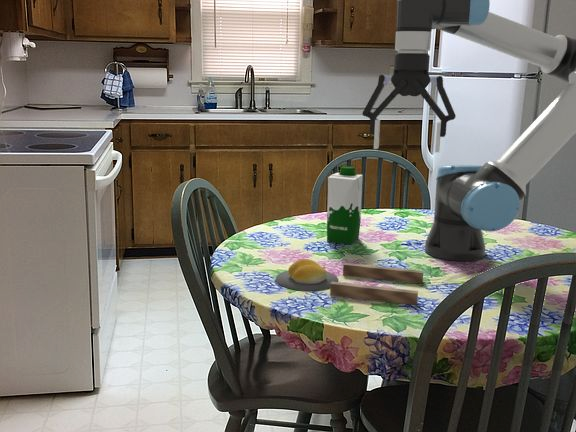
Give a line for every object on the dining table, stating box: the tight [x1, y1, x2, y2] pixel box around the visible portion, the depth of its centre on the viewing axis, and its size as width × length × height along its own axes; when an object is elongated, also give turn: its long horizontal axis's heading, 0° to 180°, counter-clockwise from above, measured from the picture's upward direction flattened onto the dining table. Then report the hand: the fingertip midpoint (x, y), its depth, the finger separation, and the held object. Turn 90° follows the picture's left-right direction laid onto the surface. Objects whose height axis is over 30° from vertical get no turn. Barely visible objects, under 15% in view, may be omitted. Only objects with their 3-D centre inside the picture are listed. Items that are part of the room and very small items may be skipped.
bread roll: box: [287, 258, 328, 284], centre depth 142 cm, size 8×9×4 cm
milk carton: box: [326, 165, 363, 245], centre depth 173 cm, size 9×9×20 cm
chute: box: [329, 262, 425, 306], centre depth 138 cm, size 18×15×2 cm
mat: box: [275, 270, 339, 292], centre depth 143 cm, size 14×14×1 cm
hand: (406, 150), depth 143 cm, fingers open, 13 cm apart
